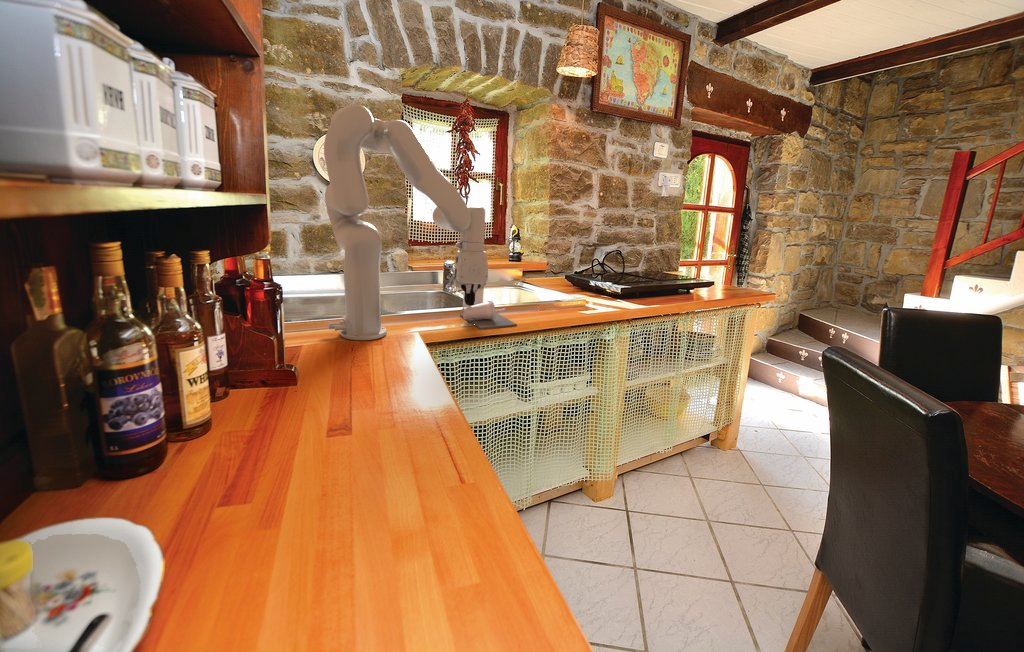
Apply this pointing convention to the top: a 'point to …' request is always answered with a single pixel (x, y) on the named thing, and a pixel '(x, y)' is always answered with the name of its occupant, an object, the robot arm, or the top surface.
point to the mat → (491, 322)
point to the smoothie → (480, 311)
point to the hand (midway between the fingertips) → (469, 304)
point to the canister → (477, 297)
